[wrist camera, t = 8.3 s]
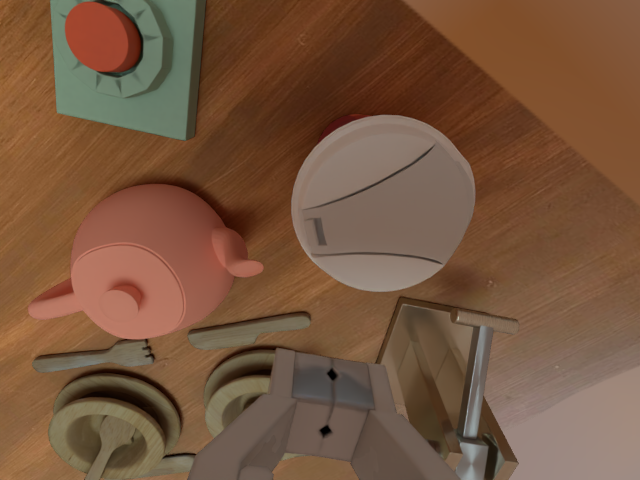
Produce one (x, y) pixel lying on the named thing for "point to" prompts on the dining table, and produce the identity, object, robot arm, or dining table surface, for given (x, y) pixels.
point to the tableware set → (153, 402)
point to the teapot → (148, 264)
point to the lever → (476, 387)
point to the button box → (137, 70)
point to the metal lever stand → (438, 382)
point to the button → (102, 37)
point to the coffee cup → (382, 201)
